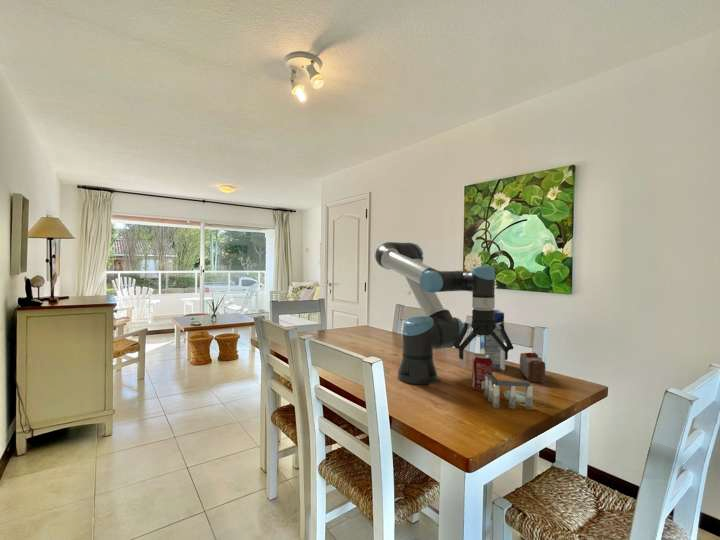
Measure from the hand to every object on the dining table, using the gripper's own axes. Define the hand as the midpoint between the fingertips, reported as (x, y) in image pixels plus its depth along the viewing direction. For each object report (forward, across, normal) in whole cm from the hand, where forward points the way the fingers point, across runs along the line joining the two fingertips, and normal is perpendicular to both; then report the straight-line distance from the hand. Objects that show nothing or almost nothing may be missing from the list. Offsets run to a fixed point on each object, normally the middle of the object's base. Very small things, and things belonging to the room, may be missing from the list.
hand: (483, 368), depth 127 cm
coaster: (+8, +10, -7) cm, 14 cm away
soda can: (+8, 0, 0) cm, 8 cm away
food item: (+8, +24, +16) cm, 29 cm away
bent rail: (+8, +5, -11) cm, 14 cm away
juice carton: (+7, +12, +30) cm, 33 cm away
